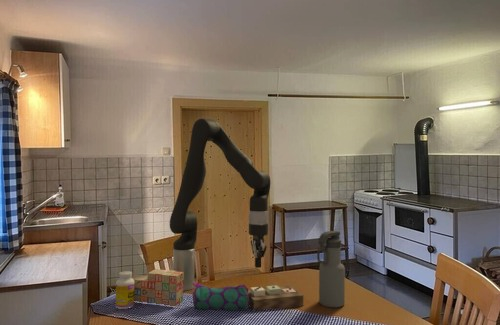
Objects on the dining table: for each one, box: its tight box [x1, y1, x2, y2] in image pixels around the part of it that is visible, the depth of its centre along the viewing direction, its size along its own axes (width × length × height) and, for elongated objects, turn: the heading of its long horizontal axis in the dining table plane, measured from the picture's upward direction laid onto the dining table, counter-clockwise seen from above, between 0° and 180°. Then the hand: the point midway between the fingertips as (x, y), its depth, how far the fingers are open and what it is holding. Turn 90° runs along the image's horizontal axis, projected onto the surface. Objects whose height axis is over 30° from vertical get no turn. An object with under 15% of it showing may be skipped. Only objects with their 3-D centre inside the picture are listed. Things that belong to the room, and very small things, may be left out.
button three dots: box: [250, 285, 265, 297], centre depth 146 cm, size 4×4×3 cm
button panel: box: [248, 285, 304, 311], centre depth 148 cm, size 20×12×4 cm, turn 107°
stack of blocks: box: [131, 268, 184, 306], centre depth 147 cm, size 21×6×12 cm, turn 74°
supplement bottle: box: [115, 270, 135, 310], centre depth 142 cm, size 7×7×13 cm
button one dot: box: [265, 284, 281, 295], centre depth 148 cm, size 4×4×3 cm
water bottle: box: [316, 230, 346, 309], centre depth 148 cm, size 10×10×28 cm
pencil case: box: [192, 281, 249, 311], centre depth 141 cm, size 21×9×10 cm, turn 91°
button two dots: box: [282, 288, 296, 294], centre depth 150 cm, size 4×4×3 cm
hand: (258, 267), depth 146 cm, fingers closed
